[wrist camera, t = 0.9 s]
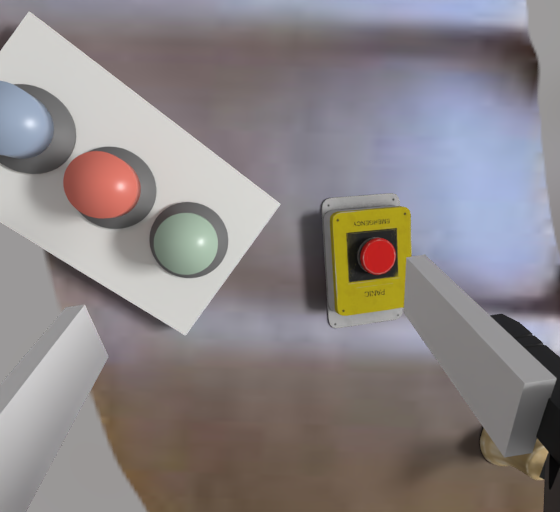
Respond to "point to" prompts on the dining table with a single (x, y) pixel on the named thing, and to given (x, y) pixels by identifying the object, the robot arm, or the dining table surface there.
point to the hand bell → (515, 457)
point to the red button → (101, 185)
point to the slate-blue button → (23, 123)
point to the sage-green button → (185, 243)
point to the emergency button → (365, 258)
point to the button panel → (146, 163)
